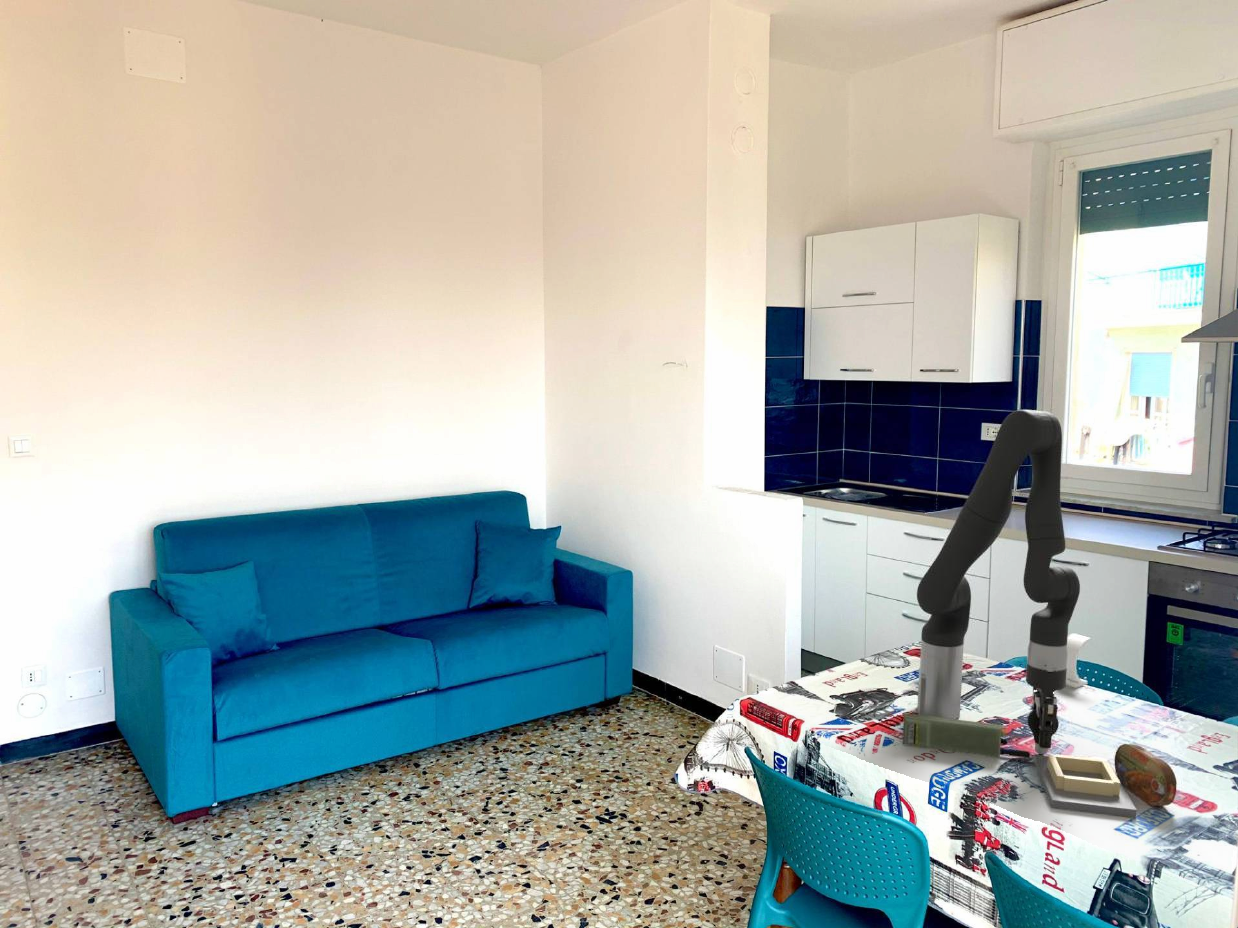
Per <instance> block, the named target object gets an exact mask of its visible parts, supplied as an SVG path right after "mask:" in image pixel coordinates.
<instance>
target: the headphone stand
mask: <svg viewBox="0 0 1238 928" xmlns="http://www.w3.org/2000/svg"><path fill="white" fill-rule="evenodd" d="M1091 639H1092V638H1091V637H1087V636H1085V635H1080V634H1077V633H1071V634H1069V635H1068V638H1067V651H1068V659H1067V674H1066V686H1069V687H1070V688H1071V687H1072V688H1075V689H1076V688H1079V687H1083V686H1087V685H1088V680H1086V679H1082V678H1080V677H1079V675H1078V671H1077V661H1078V657H1079V655H1080V652H1081V651H1082V649H1083V648H1084V646H1085V645H1086V644H1088V643H1089V642H1090V643H1091Z"/></svg>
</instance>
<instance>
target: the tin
mask: <svg viewBox="0 0 1238 928" xmlns="http://www.w3.org/2000/svg"><path fill="white" fill-rule="evenodd" d="M1113 761H1114V772H1115V773H1116V775H1117V777H1118V779H1119V780H1120V782H1121V784H1122V785H1123V787H1124V789H1125V788H1126V789H1127V790H1129V792H1131V793H1133V794H1134V795H1135V796H1137V797H1138V798H1139V799H1140V800H1142V801H1144V802H1145V803H1146V804H1148V805H1150V806H1152V807H1157V806H1159V807H1164V806H1170V805H1171V804H1172V803H1173V802H1174V801H1175V798H1176V793H1177V777H1176V775H1175V773H1174V771H1173V768H1172V767H1171V766H1170V765H1169V763H1167V762H1166V761H1164V760H1163V759H1161V758H1160V757H1158V756H1157V755H1155V754H1154V753H1152V752H1150V751H1149V750H1147V749H1145V748H1144V747H1142V746H1141V745H1138V744H1137V745H1136V744H1129V743H1128V744H1127V743H1123V744H1121V745H1119V747H1118V748H1117V749H1116V751H1115V754H1114V760H1113Z"/></svg>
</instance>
